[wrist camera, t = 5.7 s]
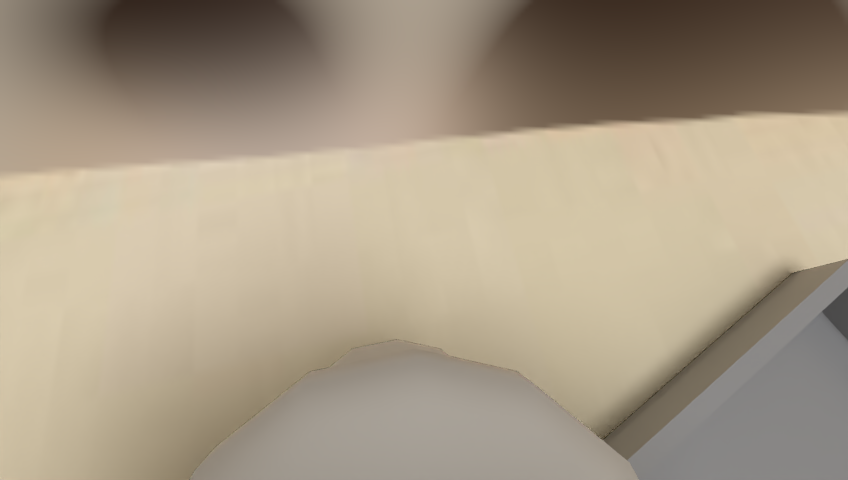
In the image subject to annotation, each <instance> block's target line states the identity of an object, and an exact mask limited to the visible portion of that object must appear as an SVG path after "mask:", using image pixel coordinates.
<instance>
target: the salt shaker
mask: <svg viewBox="0 0 848 480" xmlns="http://www.w3.org/2000/svg"><path fill="white" fill-rule="evenodd" d="M189 480H639V479H638V477H637V475H636V473H635V471H634V470H633V468H632V466H631V464H630V463H629V462H628V461H627V460H626V459H625V458H623V457H622V456H621V455H620V454H619V453H617V452H616V451H615V450H614V449H612V448H611V447H610V446H609V445H608V444H606V443H605V442H604V441H603V440H601V439H600V438H599V437H598V436H597V435H595V434H594V433H593V432H592V431H591V430H589V429H588V428H587V427H586V426H584V425H583V424H582V423H581V422H580V421H578V420H577V419H576V418H575V417H573V416H572V415H571V414H570V413H569V412H567V411H566V410H565V409H564V408H562V407H561V406H560V405H559V404H558V403H556V402H555V401H554V400H553V399H552V398H550V397H549V396H548V395H547V394H545V393H544V392H543V391H542V390H541V389H539V388H538V387H537V386H536V385H534V384H533V383H532V382H531V381H529V380H528V379H527V378H525V377H524V376H523V375H521V374H520V373H518V372H517V371H514V370H510V369H505V368H501V367H496V366H492V365H487V364H483V363H478V362H474V361H469V360H465V359H460V358H456V357H451V356H449V355H447V354H446V353H445V352H444V351H443V350H442V349H439V348H435V347H430V346H425V345H421V344H416V343H411V342H406V341H402V340H392V341H387V342H382V343H377V344H372V345H367V346H362V347H358V348H353V349H351V350H350V351H348V352H347V353H346V354H345V355H344V356H342V357H341V358H340V359H339V360H337V361H336V362H335V363H334V364H333V365H331V366H330V367H328V368H324V369H319V370H314V371H310V372H309V373H307V374H306V375H305V376H304V377H302V378H301V379H300V380H299V381H297V382H296V383H295V384H294V385H292V386H291V387H290V388H289V389H287V390H286V391H285V392H284V393H282V394H281V395H280V396H278V397H277V398H276V399H275V400H273V401H272V402H271V403H270V404H268V405H267V406H266V407H265V408H263V409H262V410H261V411H260V412H258V413H257V414H256V415H255V416H253V417H252V418H251V419H250V420H248V421H247V422H246V423H245V424H243V425H242V426H241V427H240V428H238V429H237V430H236V431H235V432H233V433H232V434H231V435H230V436H228V437H227V438H226V439H224V440H223V441H222V442H221V443H219V444H218V445H217V446H216V447H215V448H214V449H213V450H212V451H211V452H210V454H209V455H208V456H207V457H206V458H205V459H204V460H203V461H202V463H201V464H200V465H199V466H198V467H197V468H196V469H195V471H194V472H193V474H192V476H191V478H190V479H189Z"/></svg>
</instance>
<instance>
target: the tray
mask: <svg viewBox="0 0 848 480" xmlns="http://www.w3.org/2000/svg"><path fill="white" fill-rule="evenodd" d="M603 441H604V442H605V443H606V444H608V445H609V446H610V447H611V448H612V449H614V450H615V451H616V452H617V453H619V454H620V455H621V456H622V457H623V458H625V459H626V460H627V461H628V462H629V463H630V464H631V466H632V468H633V470H634V471H635V473H636V475H637V477H638V479H639V480H848V259H846V260H842V261H838V262H834V263H830V264H826V265H822V266H818V267H814V268H810V269H806V270H802V271H798V272H794V273H792V274H791V275H790V276H789V277H788V278H786V279H785V280H784V281H783V282H782V283H781V284H780V285H779V286H777V287H776V288H775V289H774V290H773V291H772V292H771V293H769V294H768V295H767V296H766V297H765V298H764V299H763V300H761V301H760V302H759V303H758V304H757V305H756V306H755V307H754V308H752V309H751V310H750V311H749V312H748V313H747V314H746V315H744V316H743V317H742V318H741V319H740V320H739V321H738V322H736V323H735V324H734V325H733V326H732V327H731V328H730V329H728V330H727V331H726V332H725V333H724V334H723V335H722V336H721V337H719V338H718V339H717V340H716V341H715V342H714V343H713V344H711V345H710V346H709V347H708V348H707V349H706V350H705V351H703V352H702V353H701V354H700V355H699V356H698V357H697V358H696V359H694V360H693V361H692V362H691V363H690V364H689V365H688V366H686V367H685V368H684V369H683V370H682V371H681V372H680V373H678V374H677V375H676V376H675V377H674V378H673V379H672V380H671V381H669V382H668V383H667V384H666V385H665V386H664V387H663V388H661V389H660V390H659V391H658V392H657V393H656V394H655V395H653V396H652V397H651V398H650V399H649V400H648V401H647V402H646V403H644V404H643V405H642V406H641V407H640V408H639V409H638V410H636V411H635V412H634V413H633V414H632V415H631V416H630V417H628V418H627V419H626V420H625V421H624V422H623V423H622V424H621V425H619V426H618V427H617V428H616V429H615V430H614V431H613V432H611V433H610V434H609V435H608V436H607V437H606V438H605V439H603Z"/></svg>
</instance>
